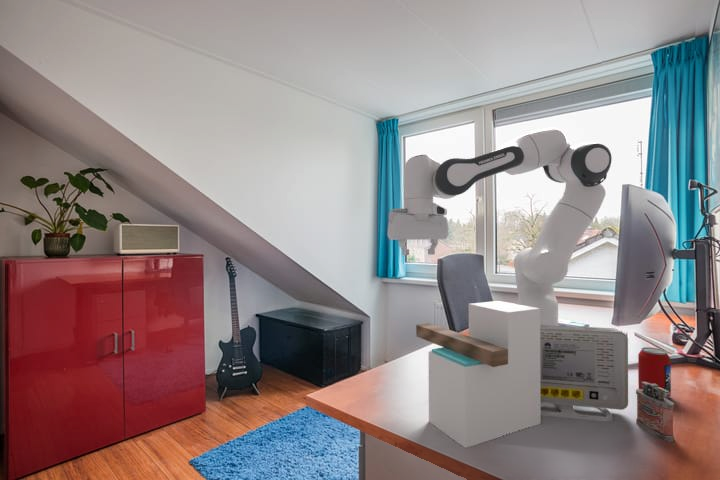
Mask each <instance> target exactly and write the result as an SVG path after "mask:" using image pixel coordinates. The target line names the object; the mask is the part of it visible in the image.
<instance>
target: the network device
mask: <svg viewBox="0 0 720 480" xmlns="http://www.w3.org/2000/svg"><path fill="white" fill-rule="evenodd" d="M540 401H541V404H551V405H556V407H557V409H558V410H559V411H560V412H558V411H557V412H556V411H547V410H546V411H545V410H541V416H546V417H555V418H556V417H557V418H558V417H559V418H568V419H578V420H589V421H598V422H599V421H600V422H610V421H613V420H614V419H613V418H614V417H613V414H612V412H610V411H609V409H611V410H619V411H620V410H621V411H622V410H623V411H624V410H626V409H627V408H628V406H629V338H628V335H627V334H626V333H624V332H623V331H620V330H618V329H617V328H616V327H615V328H614V327H595V326H592V327H591V326H589V327H576V326H553V325H540ZM574 406H575V407H587V408H594V409H595V408H597V409H598V410H599V411H600V412H601V413H602V414H603V415H604V416H599V415H589V414H582V413H578V412H576V411H575V410H574Z"/></svg>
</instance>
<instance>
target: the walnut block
mask: <svg viewBox="0 0 720 480" xmlns="http://www.w3.org/2000/svg"><path fill="white" fill-rule="evenodd" d="M415 325H416V326H415V327H416V328H415V331H416V335H415V337H417V338H419V339H421V340H425V341H427V342H430V343H432V344H434V345H436V346H437V345H438V346H439V347H441V348H443V347H444V348H447V349H449V350H452V351H454V352H457V353H459V354H462V355H464V356H467V357H469V358H472V359H474V360H477V361H479V362H482V363H484V364H487V365H489V366H492V367H497V366H501V365H506V364H508V349H506V348H503V347H500V346H497V345H494V344H491V343H488V342H485V341H482V340H479V339H476V338H472V337H469V335H466V334H462V333H460V332H457V331H454V330H451V329H448V328H444V327H441V326H439V325H435V324H432V323H430V322H429V323H421V324H420V323H418V324H415Z"/></svg>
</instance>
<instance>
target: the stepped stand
mask: <svg viewBox="0 0 720 480" xmlns="http://www.w3.org/2000/svg"><path fill="white" fill-rule="evenodd" d="M468 336H469V337H472V338H476V339H479V340H482V341H485V342H488V343H491V344H494V345H497V346H500V347H503V348H506V349H508V364H506V365H501V366H497V367H492V366H489V365H487V364H484V363H482V362H479V361H477V360H474V359H472V358H469V357H467V356H464V355H462V354H459V353H457V352H454V351H452V350H449V349H447V348H444V347H437V348H432V349H431V351H428V422H429V423H430V424H431V425H433V426H434V427H435V428H437V429H438V430H439V431H441V432H443V433H444V434H445V435H446V436H448V437H449V438H451V439H452V440H453V441H454V442H456V443H458V444H459V445H460V446H462V447H463V448H464V449H467V448H471V447H474V446H476V445H479V444H482V443H485V442H489V441H491V440H495V439H498V438H500V437H504V436H507V435H510V434H513V433H516V432H519V431H518V430H520V431H523V430H525V428H526V429H528V427H529V428H531V427H535V426H538V425H541V423H542V422H541V420H542V419H541V418H542V417H541V416H542V415H541V411H542V410H541V407H542V405H541V404H542V403H541V401H540V308H535V307H529V306H524V305H519V303H518V304H517V303H512V302H506V301H501V300H494V301H493V300H492V301H491V300H490V301H483V302H474V303H473V302H471V303H468ZM522 429H523V430H522ZM515 431H516V432H515ZM512 432H513V433H512ZM509 433H510V434H509ZM506 434H507V435H506ZM503 435H504V436H503Z"/></svg>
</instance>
